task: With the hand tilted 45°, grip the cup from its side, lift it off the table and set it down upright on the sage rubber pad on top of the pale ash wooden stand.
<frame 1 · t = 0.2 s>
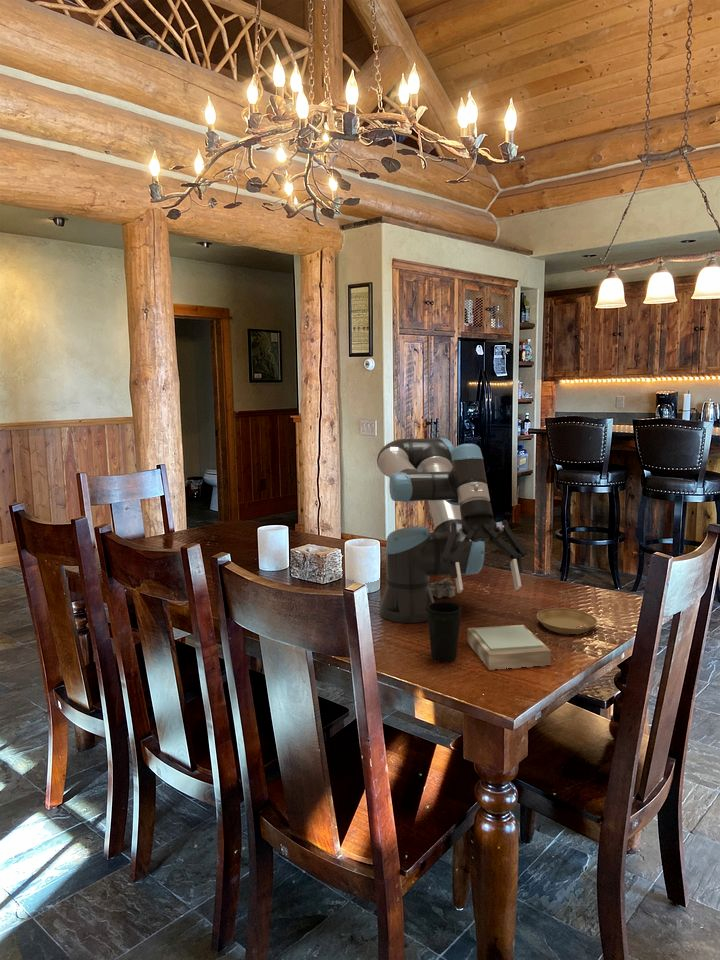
hand: (489, 589, 148), 15 cm above the table, tool tilted 35°, fingers open, 13 cm apart
plant saucer: (566, 628, 166), on the table
cup: (443, 658, 148), on the table
egg carton: (436, 595, 194), on the table
stand: (507, 653, 150), on the table
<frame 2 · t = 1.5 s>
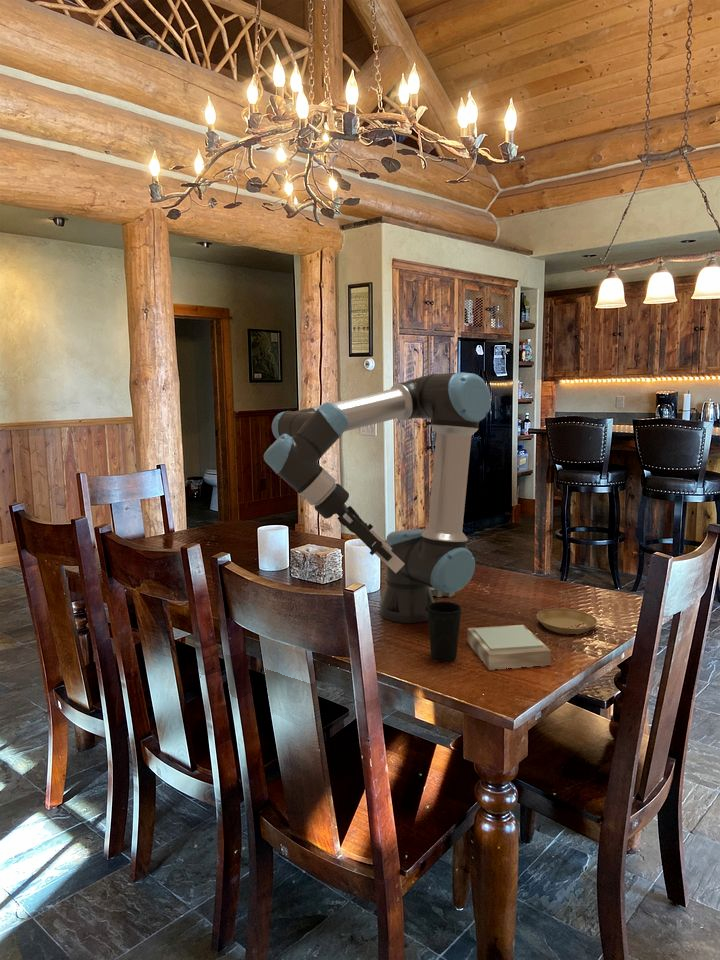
hand: (393, 560, 143), 23 cm above the table, tool tilted 45°, fingers open, 13 cm apart
nothing on the table moved.
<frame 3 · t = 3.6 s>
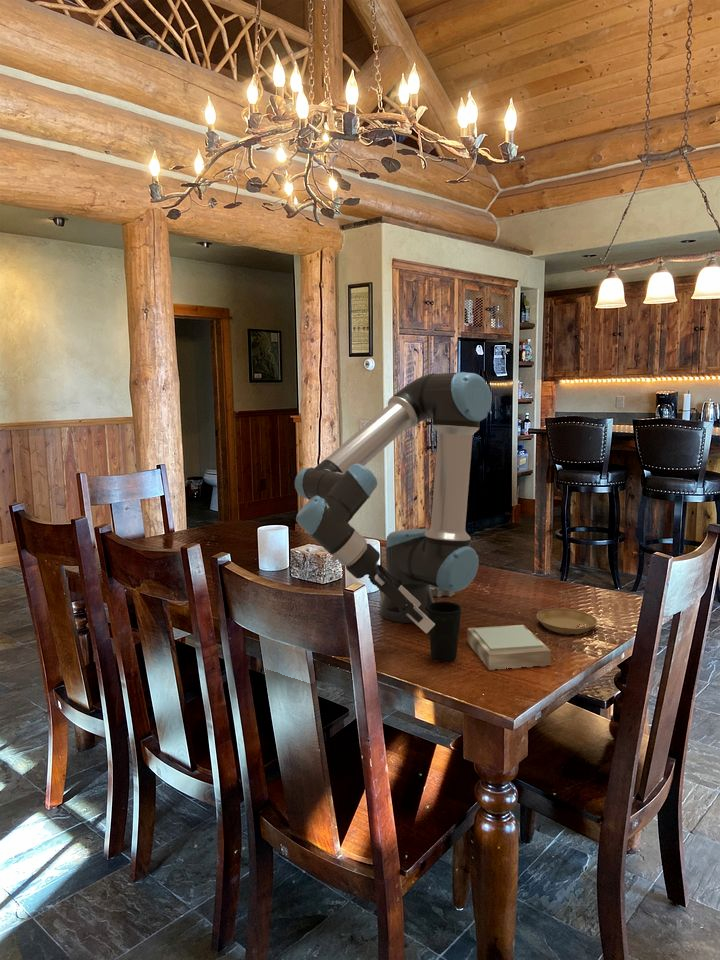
hand: (423, 617, 145), 10 cm above the table, tool tilted 45°, fingers open, 13 cm apart
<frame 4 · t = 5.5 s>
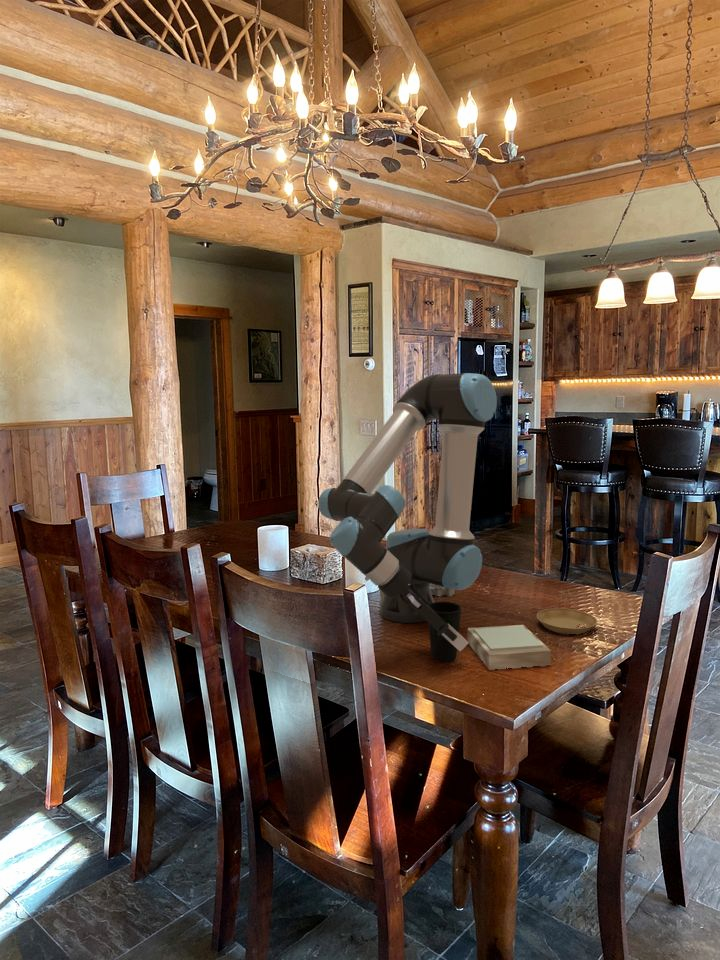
hand: (458, 639, 148), 4 cm above the table, tool tilted 45°, fingers closed on cup, 8 cm apart
cup: (443, 658, 148), on the table, touching gripper
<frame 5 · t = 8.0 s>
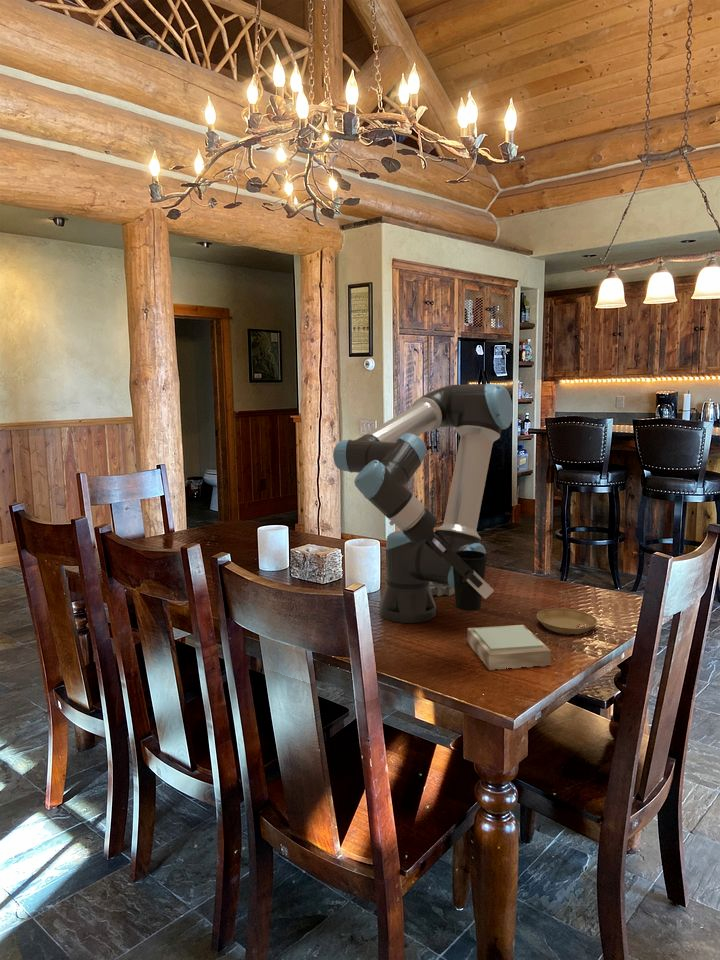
hand: (483, 588, 145), 16 cm above the table, tool tilted 45°, fingers closed on cup, 8 cm apart
cup: (468, 607, 146), point 12 cm above the table, touching gripper
when the fingers open (10 cm above the table, at t = 10.6 s): cup drops 1 cm, resting on stand.
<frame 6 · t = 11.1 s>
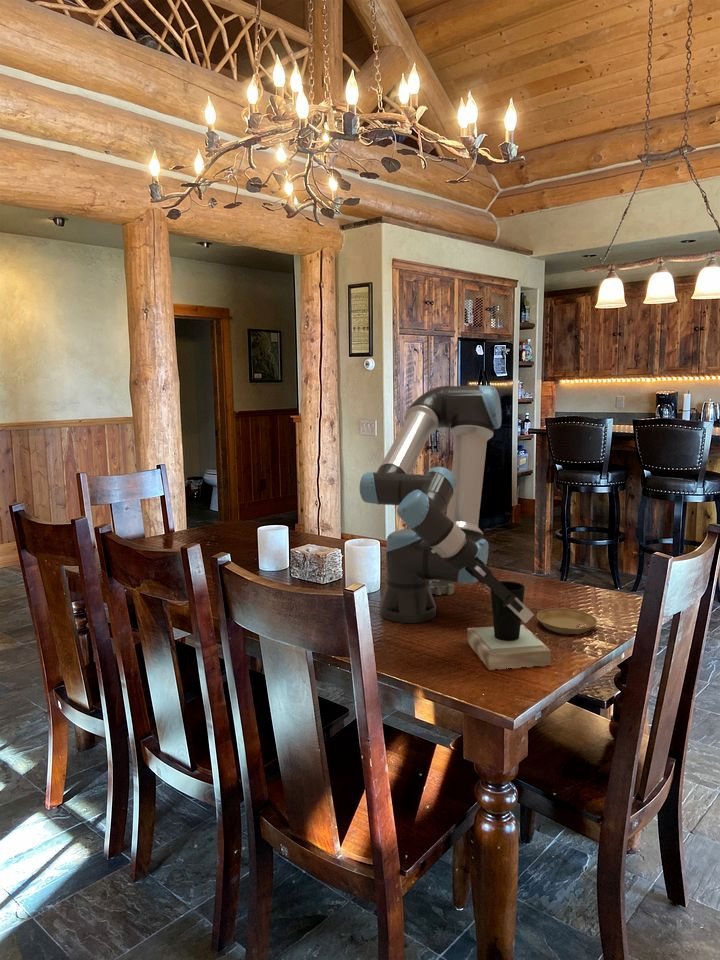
hand: (517, 608, 149), 11 cm above the table, tool tilted 45°, fingers open, 13 cm apart
cup: (506, 637, 150), point 4 cm above the table, touching stand
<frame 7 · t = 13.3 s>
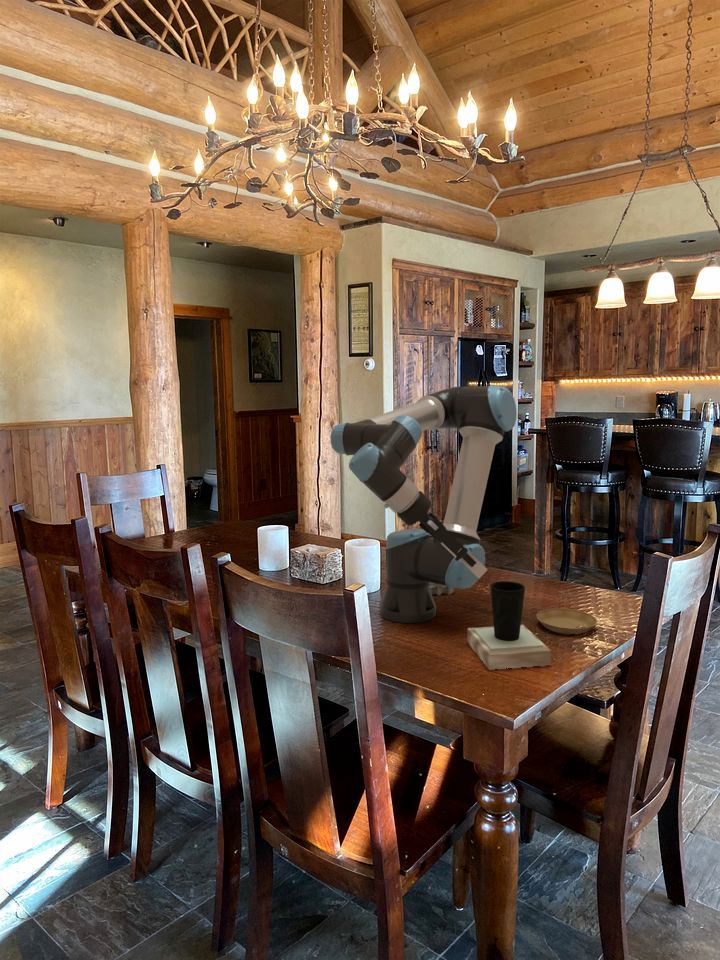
hand: (473, 565, 146), 21 cm above the table, tool tilted 45°, fingers open, 13 cm apart
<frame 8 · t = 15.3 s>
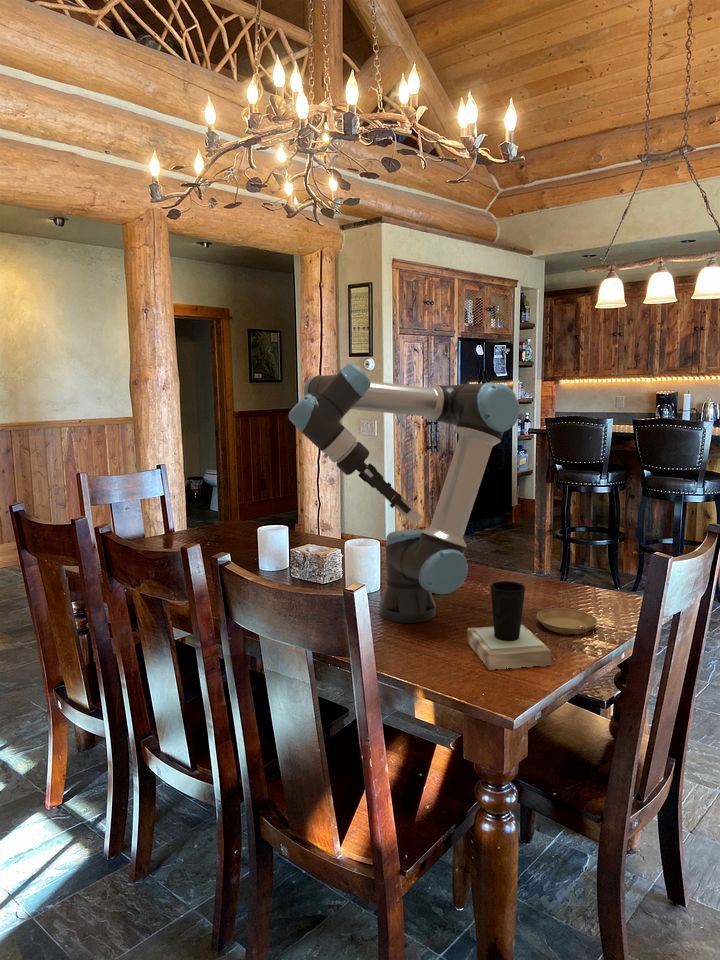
hand: (411, 515, 151), 32 cm above the table, tool tilted 45°, fingers open, 13 cm apart
at the end: cup inside the target area (0.2 cm from its centre), point 3.8 cm above the table; cup tilted 0°; the gripper is holding nothing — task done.
